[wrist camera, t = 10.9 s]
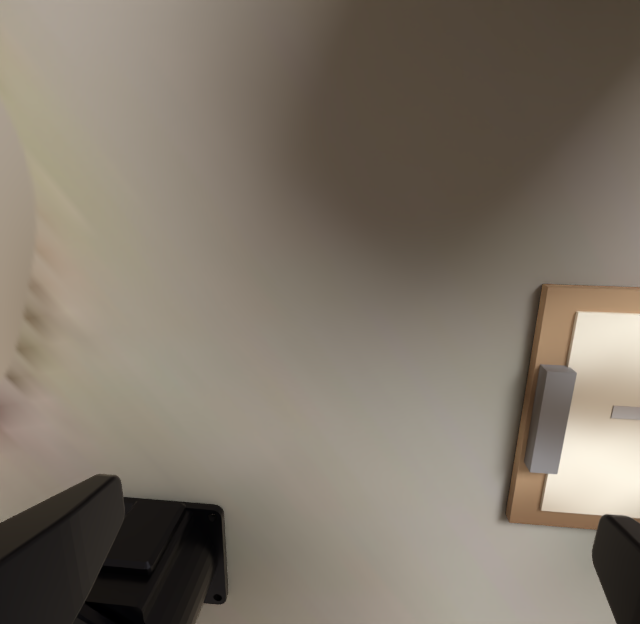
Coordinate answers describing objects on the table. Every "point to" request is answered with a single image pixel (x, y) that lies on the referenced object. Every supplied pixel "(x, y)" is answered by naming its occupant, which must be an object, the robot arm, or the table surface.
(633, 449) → the clipboard
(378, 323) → the table surface
